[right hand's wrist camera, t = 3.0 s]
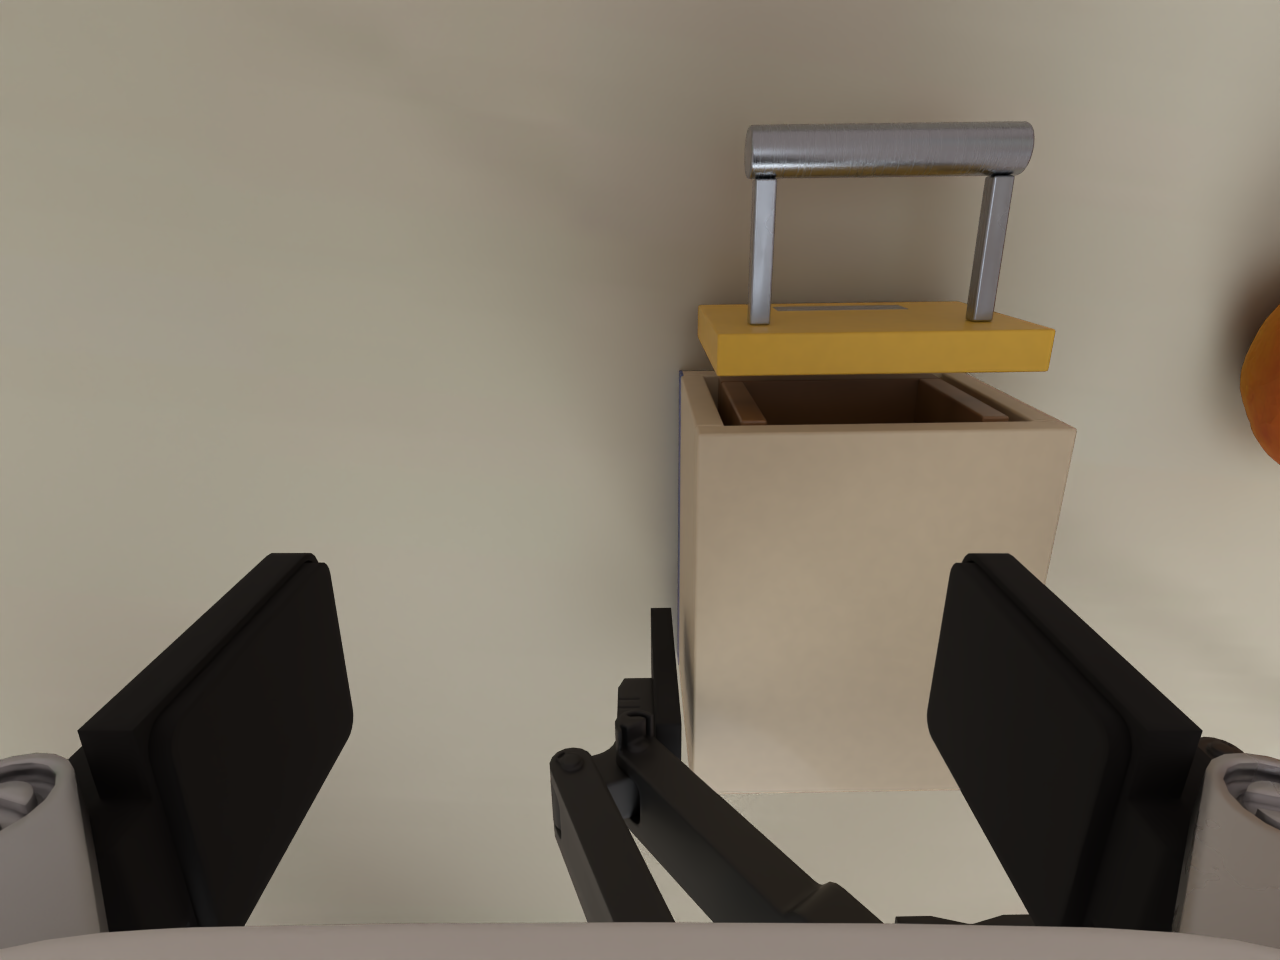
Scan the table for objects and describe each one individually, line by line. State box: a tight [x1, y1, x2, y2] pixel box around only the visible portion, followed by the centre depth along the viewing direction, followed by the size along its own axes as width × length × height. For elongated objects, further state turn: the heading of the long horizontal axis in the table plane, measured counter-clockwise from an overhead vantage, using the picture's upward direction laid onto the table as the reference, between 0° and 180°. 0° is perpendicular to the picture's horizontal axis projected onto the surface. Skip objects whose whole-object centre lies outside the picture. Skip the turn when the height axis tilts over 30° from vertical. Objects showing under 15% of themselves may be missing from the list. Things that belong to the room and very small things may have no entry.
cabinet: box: [677, 371, 1077, 794], centre depth 26 cm, size 13×11×8 cm
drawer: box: [698, 121, 1055, 426], centre depth 24 cm, size 17×9×6 cm, turn 1°
